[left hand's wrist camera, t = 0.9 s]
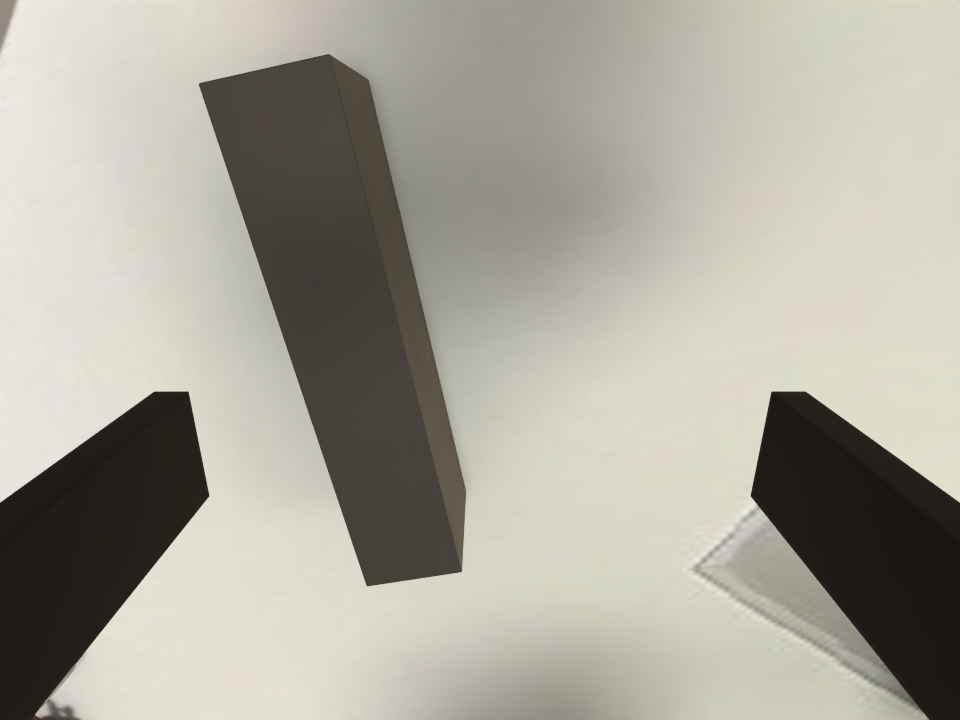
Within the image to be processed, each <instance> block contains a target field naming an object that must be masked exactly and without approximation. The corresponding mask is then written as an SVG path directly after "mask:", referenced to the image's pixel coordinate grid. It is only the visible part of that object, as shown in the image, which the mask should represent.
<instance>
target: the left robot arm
mask: <svg viewBox="0 0 960 720" xmlns="http://www.w3.org/2000/svg"><path fill="white" fill-rule="evenodd" d="M208 497H209V492H208V487H207V482H206V477H205V472H204V467H203V462H202V457H201V452H200V447H199V442H198V437H197V432H196V427H195V422H194V417H193V412H192V407H191V402H190V397H189V392H153V393H152V394H150V395H149V396H148V397H146V398H145V399H144V400H142V401H141V402H139V403H138V404H137V405H135V406H134V407H132V408H131V409H130V410H128V411H127V412H125V413H124V414H123V415H121V416H120V417H119V418H117V419H116V420H114V421H113V422H112V423H110V424H109V425H107V426H106V427H105V428H103V429H102V430H100V431H99V432H98V433H96V434H95V435H94V436H92V437H91V438H89V439H88V440H87V441H85V442H84V443H82V444H81V445H80V446H78V447H77V448H75V449H74V450H73V451H71V452H70V453H69V454H67V455H66V456H64V457H63V458H62V459H60V460H59V461H57V462H56V463H55V464H53V465H52V466H51V467H49V468H48V469H46V470H45V471H44V472H42V473H41V474H39V475H38V476H37V477H35V478H34V479H32V480H31V481H30V482H28V483H27V484H26V485H24V486H23V487H21V488H20V489H19V490H17V491H16V492H14V493H13V494H12V495H10V496H9V497H7V498H6V499H5V500H3V501H2V502H1V503H0V720H31V719H32V717H33V716H34V715H35V714H36V712H37V711H38V710H39V709H40V707H41V706H42V705H43V704H44V702H45V701H46V700H47V699H48V697H49V696H50V695H51V694H52V692H53V691H54V690H55V689H56V687H57V686H58V685H59V684H60V682H61V681H62V680H63V679H64V677H65V676H66V675H67V674H68V672H69V671H70V670H71V669H72V667H73V666H74V665H75V664H76V662H77V661H78V660H79V659H80V657H81V656H82V655H83V654H84V652H85V651H86V650H87V649H88V647H89V646H90V645H91V644H92V642H93V641H94V640H95V639H96V637H97V636H98V635H99V634H100V632H101V631H102V630H103V629H104V627H105V626H106V625H107V624H108V622H109V621H110V620H111V619H112V617H113V616H114V615H115V614H116V612H117V611H118V610H119V609H120V607H121V606H122V605H123V604H124V602H125V601H126V600H127V599H128V597H129V596H130V595H131V594H132V592H133V591H134V590H135V589H136V587H137V586H138V585H139V583H140V582H141V581H142V580H143V578H144V577H145V576H146V575H147V573H148V572H149V571H150V570H151V568H152V567H153V566H154V565H155V563H156V562H157V561H158V560H159V558H160V557H161V556H162V555H163V553H164V552H165V551H166V550H167V548H168V547H169V546H170V545H171V543H172V542H173V541H174V540H175V538H176V537H177V536H178V535H179V533H180V532H181V531H182V530H183V528H184V527H185V526H186V525H187V523H188V522H189V521H190V520H191V518H192V517H193V516H194V515H195V513H196V512H197V511H198V510H199V508H200V507H201V506H202V505H203V503H204V502H205V501H206V500H207V498H208ZM751 497H752V498H753V500H754V501H755V502H756V503H757V505H758V506H759V507H760V508H761V510H762V511H763V512H764V513H765V515H766V516H767V517H768V518H769V520H770V521H771V522H772V523H773V525H774V526H775V527H776V528H777V530H778V531H779V532H780V533H781V535H782V536H783V537H784V538H785V540H786V541H787V542H788V543H789V545H790V546H791V547H792V548H793V550H794V551H795V552H796V553H797V555H798V556H799V557H800V558H801V560H802V561H803V562H804V563H805V565H806V566H807V567H808V568H809V570H810V571H811V572H812V573H813V575H814V576H815V577H816V578H817V580H818V581H819V582H820V584H821V585H822V586H823V587H824V589H825V590H826V591H827V592H828V594H829V595H830V596H831V597H832V599H833V600H834V601H835V602H836V604H837V605H838V606H839V607H840V609H841V610H842V611H843V612H844V614H845V615H846V616H847V617H848V619H849V620H850V621H851V622H852V624H853V625H854V626H855V627H856V629H857V630H858V631H859V632H860V634H861V635H862V636H863V637H864V639H865V640H866V641H867V642H868V644H869V645H870V646H871V647H872V649H873V650H874V651H875V652H876V654H877V655H878V656H879V657H880V659H881V660H882V661H883V662H884V664H885V665H886V666H887V667H888V669H889V670H890V671H891V672H892V674H893V675H894V676H895V677H896V679H897V680H898V681H899V682H900V684H901V685H902V686H903V687H904V689H905V690H906V691H907V692H908V694H909V695H910V696H911V697H912V699H913V700H914V701H915V702H916V704H917V705H918V706H919V707H920V709H921V710H922V711H923V712H924V714H925V715H926V716H927V717H928V719H929V720H960V503H959V502H958V501H957V500H955V499H954V498H953V497H951V496H950V495H948V494H947V493H946V492H944V491H943V490H941V489H940V488H939V487H937V486H936V485H934V484H933V483H932V482H930V481H929V480H928V479H926V478H925V477H923V476H922V475H921V474H919V473H918V472H916V471H915V470H914V469H912V468H911V467H909V466H908V465H907V464H905V463H904V462H903V461H901V460H900V459H898V458H897V457H896V456H894V455H893V454H891V453H890V452H889V451H887V450H886V449H885V448H883V447H882V446H880V445H879V444H878V443H876V442H875V441H873V440H872V439H871V438H869V437H868V436H866V435H865V434H864V433H862V432H861V431H860V430H858V429H857V428H855V427H854V426H853V425H851V424H850V423H848V422H847V421H846V420H844V419H843V418H841V417H840V416H839V415H837V414H836V413H835V412H833V411H832V410H830V409H829V408H828V407H826V406H825V405H823V404H822V403H821V402H819V401H818V400H816V399H815V398H814V397H812V396H811V395H810V394H808V393H807V392H771V397H770V402H769V407H768V412H767V417H766V422H765V427H764V432H763V437H762V442H761V447H760V452H759V457H758V462H757V467H756V472H755V477H754V482H753V487H752V492H751Z"/></svg>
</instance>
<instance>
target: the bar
mask: <svg viewBox="0 0 960 720" xmlns="http://www.w3.org/2000/svg"><path fill="white" fill-rule="evenodd" d="M199 86H200V89H201V92H202V95H203V98H204V101H205V104H206V107H207V110H208V113H209V116H210V119H211V122H212V125H213V128H214V131H215V134H216V137H217V140H218V143H219V146H220V149H221V152H222V155H223V158H224V161H225V164H226V167H227V170H228V173H229V176H230V179H231V182H232V185H233V188H234V191H235V194H236V197H237V200H238V203H239V206H240V209H241V212H242V215H243V218H244V221H245V224H246V227H247V230H248V233H249V236H250V239H251V242H252V245H253V248H254V251H255V254H256V257H257V260H258V263H259V266H260V269H261V272H262V275H263V278H264V281H265V284H266V286H267V289H268V292H269V295H270V298H271V301H272V304H273V307H274V310H275V313H276V316H277V319H278V322H279V325H280V328H281V331H282V334H283V337H284V340H285V343H286V346H287V349H288V352H289V355H290V358H291V361H292V364H293V367H294V370H295V373H296V376H297V379H298V382H299V385H300V388H301V391H302V394H303V397H304V400H305V403H306V406H307V409H308V412H309V415H310V418H311V421H312V424H313V427H314V430H315V433H316V436H317V439H318V442H319V445H320V448H321V451H322V454H323V457H324V460H325V463H326V466H327V469H328V472H329V475H330V478H331V481H332V484H333V487H334V490H335V493H336V496H337V499H338V502H339V505H340V507H341V510H342V513H343V516H344V519H345V522H346V525H347V528H348V531H349V534H350V537H351V540H352V543H353V546H354V549H355V552H356V555H357V558H358V561H359V564H360V567H361V570H362V573H363V576H364V579H365V582H366V585H367V586H373V585H379V584H386V583H392V582H399V581H406V580H412V579H419V578H425V577H432V576H439V575H445V574H452V573H458V572H462V559H463V540H464V520H465V501H466V490H465V486H464V481H463V477H462V473H461V469H460V465H459V460H458V456H457V452H456V448H455V443H454V439H453V435H452V431H451V427H450V422H449V418H448V414H447V410H446V406H445V401H444V397H443V393H442V389H441V385H440V380H439V376H438V372H437V368H436V364H435V359H434V355H433V351H432V347H431V342H430V338H429V334H428V330H427V326H426V321H425V317H424V313H423V309H422V305H421V300H420V296H419V292H418V288H417V284H416V279H415V275H414V271H413V267H412V262H411V258H410V254H409V250H408V246H407V241H406V237H405V233H404V229H403V225H402V220H401V216H400V212H399V208H398V204H397V199H396V195H395V191H394V187H393V183H392V178H391V174H390V170H389V166H388V161H387V157H386V153H385V149H384V145H383V140H382V136H381V132H380V128H379V124H378V119H377V115H376V111H375V107H374V103H373V98H372V94H371V90H370V86H369V81H368V79H366V78H365V77H363V76H362V75H360V74H359V73H357V72H356V71H354V70H352V69H351V68H349V67H348V66H346V65H345V64H343V63H342V62H340V61H339V60H337V59H336V58H334V57H332V56H331V55H329V54H327V55H323V56H318V57H314V58H310V59H305V60H301V61H296V62H292V63H287V64H283V65H278V66H274V67H270V68H265V69H261V70H256V71H252V72H247V73H243V74H238V75H234V76H230V77H225V78H221V79H216V80H212V81H207V82H203V83H200V84H199Z"/></svg>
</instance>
